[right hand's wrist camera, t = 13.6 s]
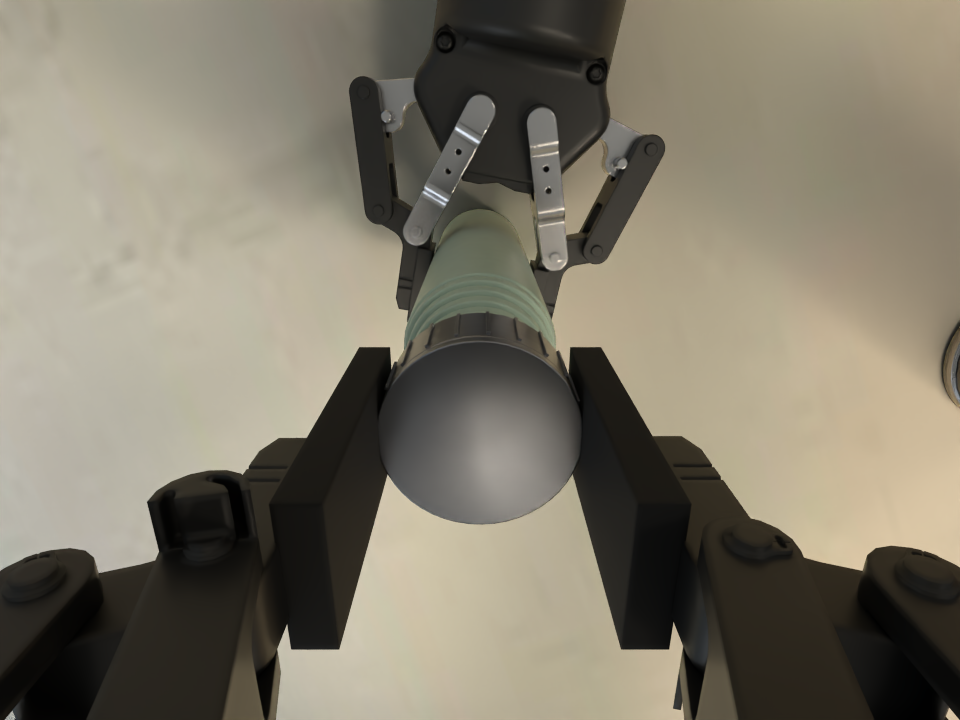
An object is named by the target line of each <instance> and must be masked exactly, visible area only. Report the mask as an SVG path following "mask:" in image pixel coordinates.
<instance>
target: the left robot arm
mask: <svg viewBox="0 0 960 720" xmlns="http://www.w3.org/2000/svg"><path fill="white" fill-rule="evenodd" d="M625 1H626V0H438V2H437V9H436V17H435V24H434V31H433V38H432V44H431V47H430V50H429V53H428V55H427V57H426V59H425V61H424V62H423V64H422V65H421V66H420V68H419V69H418V71H417V73H416V75H415V78H403V79H389V80H374V79H372V78H369V77H365V76H360V77H357V78H356V79H354V80H353V81H352V83H351V85H350V88H349V95H350V102H351V110H352V117H353V125H354V132H355V140H356V147H357V155H358V162H359V170H360V177H361V185H362V192H363V200H364V207H365V214H366V216H367V218H368V219H369V220H370V221H371V222H372V223H375V224H382V225H383V226H385V227H387V228H389V229H390V230H392V231H394V232H395V233H396V234H397V235H398V236H399V237H400V239H401V241H402V244H403V251H402V258H401V265H400V273H399V280H398V287H397V294H396V300H397V304H398V308H399V309H404V310H408V317H407V322H408V320H409V317H410V315H411V312H412V310H413V307H414V305H415V302H416V300H417V297H418V295H419V292H420V290H421V287H422V285H423V282H424V280H425V277H426V274H427V272H428V269H429V267H430V264H431V262H432V259H433V257H434V252H435V246H436V243H435V242H432V239H433V232H434V227H435V225H436V223H437V222H438V220H439V218H440V216H441V214H442V212H443V211H444V209H445V207H446V205H447V203H448V201H449V200H450V198H451V196H452V194H453V192H454V190H455V189H456V187H457V185H458V183H459V181H460V179H461V178H462V181H467V182H472V183H477V184H484V183H500V184H502V185H504V186H506V187H508V188H510V189H512V190H514V191H518V192H524V193H529V195H530V204H531V210H532V215H533V222H534V230H535V239H536V247H537V256H536V260H535V261H533V260H531V261H530V267H531V269H532V272H533V274H534V277H535V279H536V282H537V285H538V287H539V290H540V292H541V295H542V297H543V300H544V302H545V305H546V307H547V310H548V312H549V315H550V317H551V320H552V316H553V312H554V307H555V303H556V299H557V295H558V291H559V287H560V282H561V278H562V276H563V274H564V272H565V271H566V270H567V269H568V268H570V267H572V266H574V265H580V264H586V263H592V264H600V263H602V262H604V261H605V260H606V259H607V258H608V256H609V254H610V253H611V251H612V249H613V247H614V245H615V243H616V242H617V240H618V238H619V236H620V234H621V232H622V230H623V229H624V227H625V225H626V223H627V221H628V219H629V218H630V216H631V214H632V212H633V210H634V208H635V207H636V205H637V203H638V201H639V199H640V197H641V196H642V194H643V192H644V190H645V188H646V186H647V184H648V183H649V181H650V179H651V177H652V175H653V173H654V172H655V170H656V168H657V166H658V164H659V162H660V161H661V159H662V157H663V155H664V152H665V144H664V141H663V140H662V138H660V137H659V136H657V135H642V134H640V133H638V132H636V131H634V130H633V129H631V128H629V127H627V126H625V125H623V124H621V123H619V122H617V121H615V120H613V119H611V118H610V108H609V104H608V100H607V92H606V84H607V77H608V73H609V68H610V64H611V60H612V56H613V52H614V47H615V43H616V39H617V35H618V31H619V26H620V22H621V18H622V14H623V10H624V5H625ZM414 103H418V105H419V107H420V110H421V112H422V114H423V116H424V118H425V120H426V122H427V124H428V127H429V129H430V131H431V133H432V135H433V137H434V139H435V142H436V144H437V146H438V148H439V150H440V152H441V155H440V157H439V159H438V161H437V163H436V165H435V167H434V169H433V170H432V172H431V174H430V176H429V178H428V180H427V182H426V184H425V186H424V188H423V190H422V193H421V194H420V196H419V198H418V200H417V202H416V204H415V206H414V207H412V206H411V205H409V204H407V203H406V202H404V201H402V200H401V199H399V198H398V189H397V180H396V171H395V162H394V153H393V144H392V135H391V132H397V131H399V130H400V129H401V128H402V127H403V125H404V123H405V114H406V111H407V109H408V108H409V106H410V105H412V104H414ZM598 140H599V141H600V142H601V143H602V145H603V148H604V154H603V157H602V161H601V166H602V169H603V171H604V172H605V173H606V174H607V175H609V176H608V177H607V179H606V181H605V183H604V185H603V187H602V189H601V191H600V193H599V195H598V197H597V199H596V201H595V203H594V205H593V207H592V208H591V210H590V212H589V214H588V216H587V218H586V220H585V222H584V224H583V226H582V228H581V230H580V232H579V233H576V234H570V235H566V231H565V220H564V218H565V207H564V197H563V188H562V178H561V175H562V174H563V173H564V172H565V171H566V170H567V169H568V168H569V167H570V166H571V165H572V164H573V163H574V162H576V161H577V160H578V159H579V158H580V157H581V156H582V155H583V154H584V153H585V152H586V151H587V150H588V149H589V148H590V147H591V146H592V145H593V144H594V143H596V142H597V141H598ZM943 378H944V384H945V387H946V390H947V393H948V395H949V397H950V398H951V400H952V401H953V402H954V403H955V404H956V405H957V406H958V407H959V408H960V327H959V328H958V330H957V331H956V333H955V334H954V336H953V338H952V340H951V342H950V344H949V346H948V349H947V352H946V355H945V360H944V366H943Z"/></svg>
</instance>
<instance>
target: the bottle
mask: <svg viewBox="0 0 960 720" xmlns="http://www.w3.org/2000/svg"><path fill="white" fill-rule="evenodd" d="M486 311H489V313H493V314H498V315H504V316H507V317H510V318H513V319H514V317H516V318H518V321H520V322H523V323H525V324H527V325H528V326H530V327H531V328H533V329H535V330H536V331H537V332H539V331H541V332H542V334H543V337H545V338H546V339H547V340H548V342H549V343H550V344H551V345H552V346H553V347H554V349H555V350H556V338H555V331H554V326H553V323H552V320H551V317H550V315H549V312H548V310H547V307H546V305H545V302H544V300H543V297H542V295H541V292H540V290H539V287H538V285H537V282H536V279H535V277H534V274H533V272H532V269H531V267H530V264H529V262H528V259H527V257H526V254H525V252H524V249H523V247H522V244H521V242H520V239H519V237H518V234H517V232H516V230H515V228H514V227H513V225H512V224H511V223H510V222H509V221H508V220H507V219H506V218H505V217H503V216H502V215H500V214H498V213H496V212H494V211H490V210H485V209H475V210H470V211H466V212H464V213H462V214H460V215H458V216H457V217H455V218H454V219H453V220H452V221H451V222H450V223H449V224H448V225H447V227H446V228H445V230H444V232H443V234H442V237H441V239H440V242H439V244H438V247H437V249H436V252H435V254H434V257H433V259H432V262H431V264H430V267H429V269H428V272H427V274H426V277H425V280H424V282H423V285H422V287H421V290H420V292H419V295H418V297H417V300H416V302H415V305H414V307H413V310H412V312H411V315H410V317H409V320H408V323H407V327H406V330H405V338H404V350H405V348H406V347H407V344H408V341H409V340H413V339H414V338H416V337H417V336H418V335H419V334H420V333H421V332H423V331H424V330H426V329H427V328H429V326H430V324H431V323H433V324H436V323H438V322H440V321H442V320H444V319H447V318H450V317H453V316H457V313H460V314H461V315H462V314H467V313H486Z"/></svg>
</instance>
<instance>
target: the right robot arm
mask: <svg viewBox="0 0 960 720" xmlns="http://www.w3.org/2000/svg"><path fill="white" fill-rule="evenodd" d="M390 372H391V356H390V347H359V349H358V351H357V352H356V354H355V356H354V358H353V359H352V361H351V363H350V364H349V366H348V368H347V370H346V371H345V373H344V375H343V377H342V378H341V380H340V382H339V383H338V385H337V387H336V389H335V390H334V392H333V394H332V396H331V397H330V399H329V401H328V402H327V404H326V406H325V408H324V409H323V411H322V413H321V415H320V416H319V418H318V420H317V421H316V423H315V425H314V427H313V428H312V430H311V432H310V433H309V435H308V437H307V438H278V439H277V440H275V441H274V442H272V443H271V444H269V445H268V446H266V447H265V448H263V449H262V450H260V451H259V453H258V454H257V455H256V457H255V458H254V460H253V461H252V463H251V464H250V465H249V469H247V470H246V471H245V472H244V474H243V475H242V474H240V473H236V472H232V471H228V470H214V471H205V472H200V473H195V474H190V475H187V476H185V477H182V478H180V479H177V480H174V481H172V482H170V483H169V484H167V485H165V486H164V487H162V488H161V489H159V490H157V491H156V492H155V493H154V495H153V496H152V497H151V498H150V499H149V500H148V501H147V504H148V508H149V512H150V516H151V520H152V524H153V528H154V532H155V536H156V541H157V545H158V549H159V553H158V556H157V558H156V560H155V561H152V562H148V563H145V564H141V565H136V566H132V567H127V568H122V569H117V570H112V571H108V572H103V573H98V570H97V566H96V563H95V560H94V557H92V556H91V555H90V554H89V553H87V552H86V551H84V550H78V549H72V548H68V549H59V550H50V551H46V552H41V553H40V554H34V555H32V556H29V557H26V558H24V559H23V560H20V561H18V562H16V563H14V564H12V565H10V566H8V567H6V568H4V569H3V570H1V571H0V720H5V718H6V717H7V716H8V715H9V714H10V712H11V711H12V710H13V713H14V715H15V718H16V719H15V720H276V712H277V703H278V694H279V685H280V675H281V670H280V664H279V657H278V651H277V648H278V645H279V643H280V640H281V638H282V635H283V633H284V630H285V628H286V625H288V632H289V638H290V644H291V649H339V648H340V645H341V641H342V637H343V634H344V630H345V627H346V623H347V619H348V616H349V612H350V608H351V605H352V601H353V598H354V594H355V590H356V587H357V583H358V579H359V576H360V572H361V569H362V565H363V561H364V558H365V554H366V550H367V547H368V543H369V540H370V536H371V532H372V529H373V525H374V521H375V518H376V514H377V511H378V507H379V503H380V500H381V496H382V492H383V489H384V485H385V482H386V478H387V472H386V470H385V467H384V465H383V463H382V460H381V457H380V446H379V432H378V414H379V410H380V407H381V403H382V401H383V398H384V395H385V393H386V390H384V388H385V385H386V383H387V380H388V378H389V375H390ZM569 374H570V375H571V378H572V381H573V383H574V386H575V388H576V391H577V394H578V396H579V399H580V404H579V407H580V410H581V413H582V437H581V451H580V458H579V461H578V463H577V465H576V468H575V470H574V472H573V477H574V480H575V484H576V487H577V491H578V495H579V498H580V502H581V506H582V509H583V513H584V516H585V520H586V524H587V527H588V531H589V535H590V538H591V542H592V545H593V549H594V553H595V556H596V560H597V564H598V567H599V571H600V574H601V578H602V582H603V585H604V589H605V593H606V596H607V600H608V603H609V607H610V611H611V614H612V618H613V622H614V625H615V629H616V632H617V636H618V640H619V643H620V647H621V649H669V647H670V640H671V634H672V627H673V622H674V624H675V627H676V629H677V632H678V634H679V637H680V639H681V642H682V644H683V651H682V657H681V663H680V669H679V675H678V681H677V687H676V693H675V699H674V706H673V709H678V710H681V706H682V702H683V711H684V720H948V719H947V718H946V714H947V712H948V709H949V708H950V709H951V710H952V711H953V712H954V714H955V715H956V716H957V717H958V718H959V720H960V567H958V566H957V565H955V564H953V563H951V562H948V561H946V560H944V559H942V558H940V557H938V556H937V555H934V554H931V553H928V552H926V551H924V552H923V551H922V550H918V549H913V548H907V547H898V546H887V547H881V548H876V549H874V550H873V551H872V552H871V553H869V554H868V555H867V558H866V561H865V565H864V568H863V571H860V570H855V569H850V568H846V567H841V566H836V565H831V564H826V563H821V562H818V561H814V560H810V559H807V558H804V557H803V555H802V552H801V550H800V549H799V548H798V546H797V545H796V544H795V542H794V541H793V539H791V538H790V537H789V536H787V535H786V534H785V533H783V532H782V531H780V530H779V529H778V528H775V527H773V526H771V525H769V524H766V523H764V522H762V521H759V520H755V519H750V517H749V516H748V514H747V513H746V512H745V510H744V509H743V507H742V506H741V505H740V503H739V502H738V500H737V499H736V498H735V496H734V495H733V493H732V492H731V490H730V489H729V488H728V486H727V485H726V483H725V482H724V481H723V480H721V476H720V475H719V474H718V472H717V471H716V469H715V468H714V467H712V464H711V462H710V461H709V460H708V458H707V457H706V455H705V454H704V453H703V451H702V450H701V449H700V448H698V447H697V446H695V445H694V444H692V443H691V442H689V441H688V440H686V439H685V438H683V437H682V436H652V435H651V433H650V431H649V429H648V428H647V426H646V424H645V422H644V421H643V419H642V417H641V416H640V414H639V412H638V410H637V409H636V407H635V405H634V403H633V402H632V400H631V398H630V397H629V395H628V393H627V391H626V390H625V388H624V386H623V385H622V383H621V381H620V379H619V378H618V376H617V374H616V372H615V371H614V369H613V367H612V366H611V364H610V362H609V360H608V359H607V357H606V355H605V353H604V352H603V350H602V348H601V347H570V362H569Z"/></svg>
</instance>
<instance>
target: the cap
mask: <svg viewBox="0 0 960 720" xmlns="http://www.w3.org/2000/svg"><path fill="white" fill-rule="evenodd" d="M384 390H386V393H385V395H384V398H383V401H382V403H381V407H380V410H379V414H378V432H379V446H380V457H381V460H382V463H383V465H384V467H385V470H386V472H387V474H388V475H389V477H390V478H391V480H392V481H393V483H394V484H395V485H396V487H397V488H398V489H399V490H400V491H401V492H402V493H403V494H404V495H405V496H406V497H407V498H408V499H409V500H410V501H412V502H413V503H415V504H416V505H417V506H419V507H420V508H422V509H424V510H426V511H427V512H429V513H431V514H433V515H436V516H438V517H441V518H444V519H447V520H451V521H455V522H460V523H466V524H495V523H500V522H506V521H509V520H513V519H516V518H519V517H522V516H524V515H526V514H529V513H531V512H533V511H534V510H536V509H538V508H540V507H541V506H543V505H544V504H545V503H547V502H548V501H550V500H551V499H552V498H553V497H554V496H555V495H556V494H557V493H558V492H559V491H560V490H561V489H562V488H563V487H564V485H565V484H566V483H567V482H568V480H569V478H570V477H571V475H572V474H573V472H574V470H575V468H576V465H577V463H578V461H579V458H580V451H581V437H582V413H581V410H580V407H579V404H580V399H579V396H578V394H577V391H576V388H575V386H574V383H573V381H572V378H571V375H570V374H568V372H567V369H566V367H565V364H564V361H563V359H562V356H561V353H560V352H559V350H558V351H557V352H556V350H555V349H554V347H553V346H552V345H551V344H550V343H549V342H548V340H547V339H546V338H545V337H543V334H542V332H541V331H539V332H537V331H536V330H535V329H533V328H531V327H530V326H528V325H527V324H525V323H523V322H520V321H518V318H516V317H514V319H513V318H510V317H507V316H504V315H498V314H493V313H489V311H486V313H467V314H462V315H461V314H460V313H457V316H453V317H450V318H447V319H444V320H442V321H440V322H438V323H436V324H433V323H431V324H430V326H429V328H427V329H426V330H424V331H423V332H421V333H420V334H419V335H418V336H417V337H416V338H414V339H413V340H409V341H408V344H407V347H406V348H405V350H404V351H403V353H402V355H401V356H400V358H399V360H398V362H394V365H393V367H392V370H391V372H390V375H389V378H388V380H387V383H386V385H385V388H384Z"/></svg>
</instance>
